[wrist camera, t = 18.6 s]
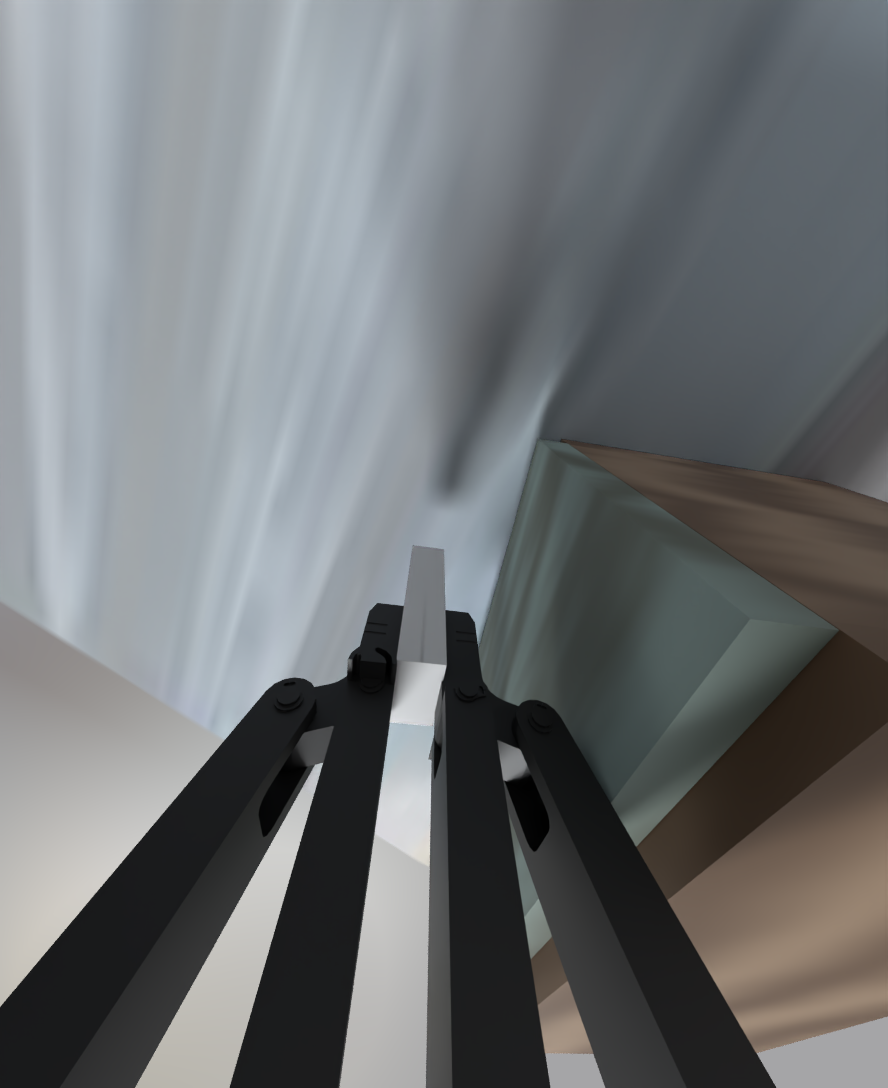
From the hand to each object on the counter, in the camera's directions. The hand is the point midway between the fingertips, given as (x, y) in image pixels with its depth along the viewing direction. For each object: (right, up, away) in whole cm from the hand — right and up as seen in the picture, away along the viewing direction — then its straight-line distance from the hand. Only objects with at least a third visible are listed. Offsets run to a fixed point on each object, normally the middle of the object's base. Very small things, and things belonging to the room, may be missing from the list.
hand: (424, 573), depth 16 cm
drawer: (+9, -6, +6) cm, 13 cm away
